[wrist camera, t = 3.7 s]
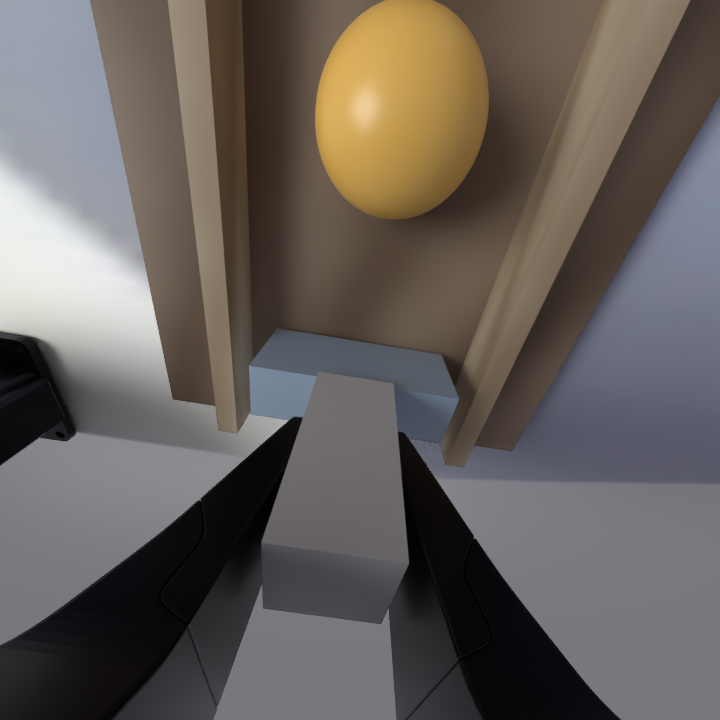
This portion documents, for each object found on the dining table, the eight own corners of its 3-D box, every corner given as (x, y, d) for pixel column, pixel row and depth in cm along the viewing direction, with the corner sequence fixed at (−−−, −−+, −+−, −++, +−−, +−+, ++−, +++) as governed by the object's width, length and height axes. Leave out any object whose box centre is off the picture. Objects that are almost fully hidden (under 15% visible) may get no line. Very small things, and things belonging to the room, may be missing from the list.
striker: (276, 373, 13) (152, 593, 6) (277, 323, 12) (120, 523, 5) (427, 397, 13) (486, 638, 6) (442, 350, 12) (540, 581, 5)
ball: (322, 204, 10) (292, 208, 6) (335, 35, 8) (302, -95, 4) (440, 224, 10) (474, 241, 6) (482, 63, 8) (566, -41, 4)
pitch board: (184, 387, 15) (144, 427, 12) (34, -459, 5) (-283, -1061, 3) (504, 436, 16) (529, 485, 13) (882, -255, 6) (1274, -604, 3)
